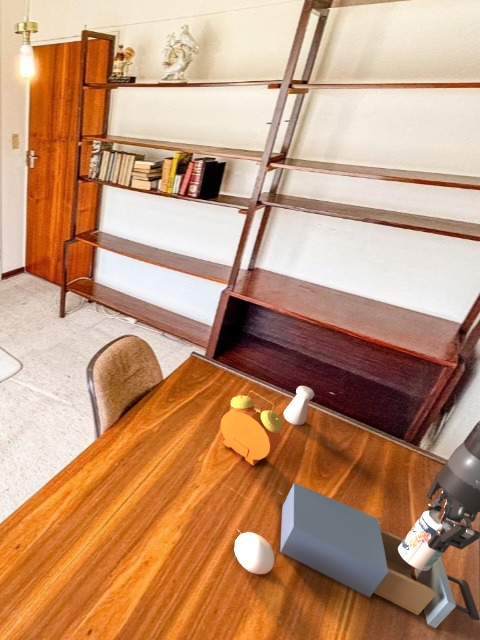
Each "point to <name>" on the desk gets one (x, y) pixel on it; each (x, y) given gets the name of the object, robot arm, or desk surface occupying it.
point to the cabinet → (333, 539)
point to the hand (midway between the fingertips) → (431, 535)
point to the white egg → (254, 553)
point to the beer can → (421, 542)
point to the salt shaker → (299, 406)
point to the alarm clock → (251, 429)
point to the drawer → (421, 586)
